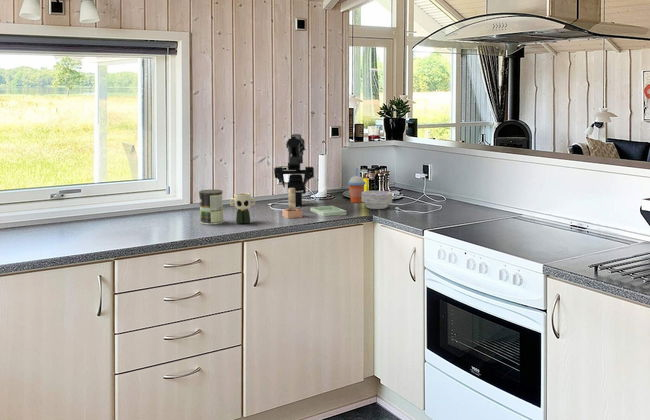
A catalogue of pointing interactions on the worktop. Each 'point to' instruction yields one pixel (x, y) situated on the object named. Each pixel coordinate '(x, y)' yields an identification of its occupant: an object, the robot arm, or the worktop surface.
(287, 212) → the peach square box
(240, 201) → the character mug
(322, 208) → the sage tray
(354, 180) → the cup with straw
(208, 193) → the coffee can
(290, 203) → the dowel
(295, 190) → the robot arm
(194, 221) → the worktop surface
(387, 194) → the paper bowls
